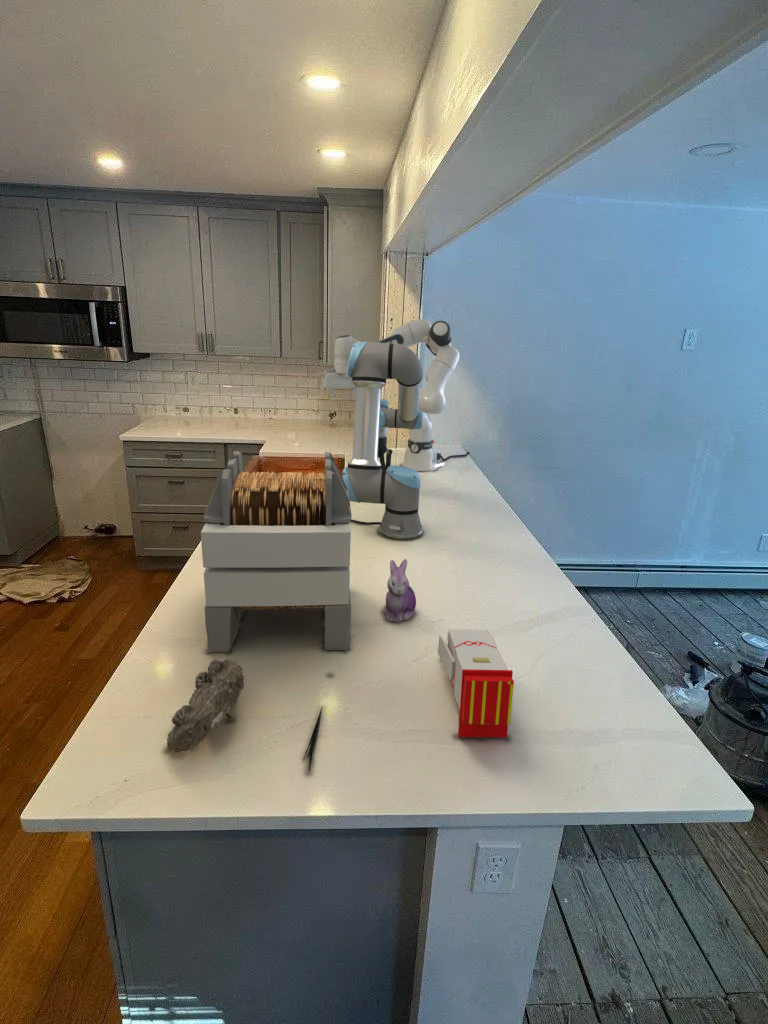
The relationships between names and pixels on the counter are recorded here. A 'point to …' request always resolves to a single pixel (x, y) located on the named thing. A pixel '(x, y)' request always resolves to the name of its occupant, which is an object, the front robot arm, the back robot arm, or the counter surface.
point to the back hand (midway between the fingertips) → (342, 397)
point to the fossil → (206, 705)
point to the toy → (478, 682)
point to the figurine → (399, 594)
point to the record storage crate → (277, 549)
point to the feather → (313, 740)
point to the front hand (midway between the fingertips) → (376, 488)
